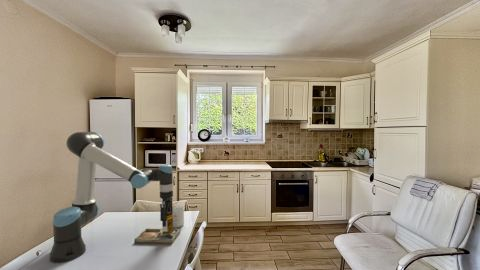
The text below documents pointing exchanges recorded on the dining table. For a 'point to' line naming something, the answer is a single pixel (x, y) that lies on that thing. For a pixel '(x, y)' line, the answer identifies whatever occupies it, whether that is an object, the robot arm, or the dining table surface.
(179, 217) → the mug
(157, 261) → the dining table surface
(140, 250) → the dining table surface
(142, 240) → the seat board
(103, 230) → the dining table surface
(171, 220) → the condiment
